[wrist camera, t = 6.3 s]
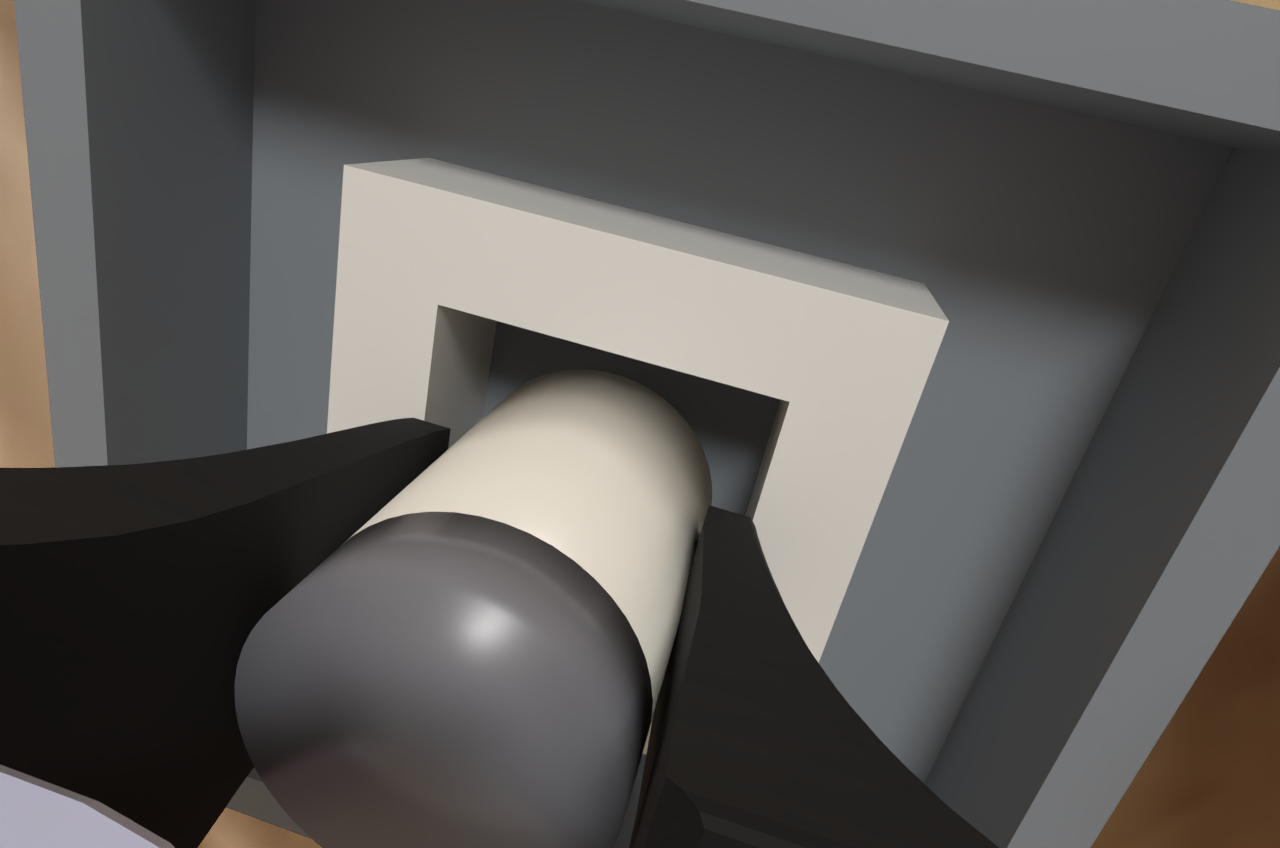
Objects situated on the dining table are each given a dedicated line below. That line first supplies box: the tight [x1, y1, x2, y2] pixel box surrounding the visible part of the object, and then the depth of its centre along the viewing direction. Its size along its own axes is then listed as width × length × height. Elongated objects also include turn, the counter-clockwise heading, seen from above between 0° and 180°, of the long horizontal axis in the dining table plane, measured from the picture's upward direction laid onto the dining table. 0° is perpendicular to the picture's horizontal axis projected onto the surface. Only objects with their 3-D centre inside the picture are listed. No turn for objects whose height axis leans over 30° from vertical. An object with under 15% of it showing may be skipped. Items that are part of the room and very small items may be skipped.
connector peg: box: [234, 369, 712, 848], centre depth 10 cm, size 4×4×6 cm
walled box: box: [14, 0, 1280, 848], centre depth 13 cm, size 17×16×4 cm
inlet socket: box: [327, 158, 949, 755], centre depth 13 cm, size 8×8×3 cm
